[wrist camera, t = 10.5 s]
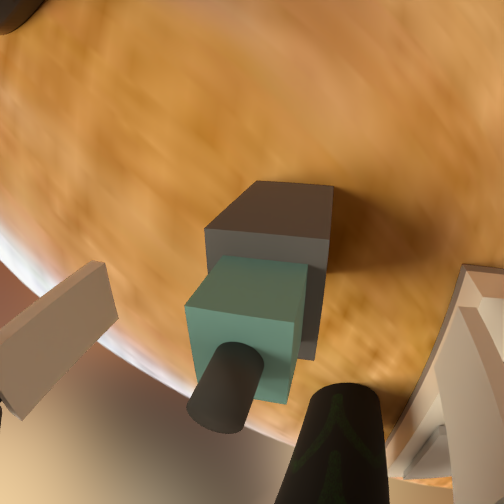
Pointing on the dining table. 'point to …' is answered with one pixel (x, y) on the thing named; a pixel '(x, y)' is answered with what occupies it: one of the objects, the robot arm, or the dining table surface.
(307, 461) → the cup
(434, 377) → the socket board
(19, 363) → the robot arm
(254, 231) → the plug
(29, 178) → the dining table surface
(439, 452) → the panel
